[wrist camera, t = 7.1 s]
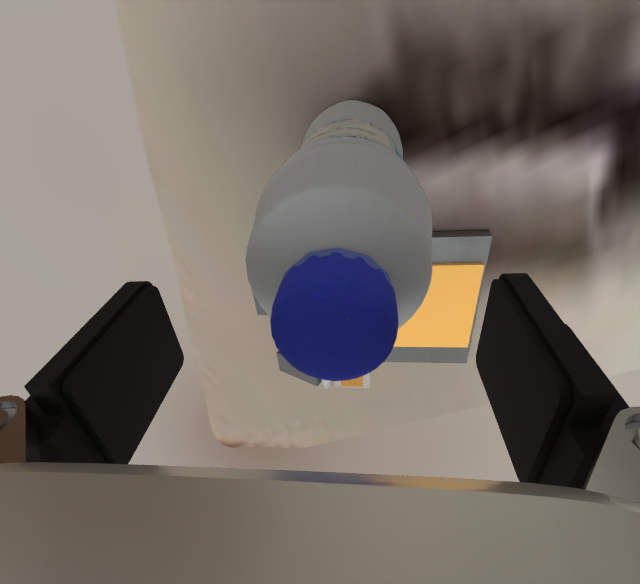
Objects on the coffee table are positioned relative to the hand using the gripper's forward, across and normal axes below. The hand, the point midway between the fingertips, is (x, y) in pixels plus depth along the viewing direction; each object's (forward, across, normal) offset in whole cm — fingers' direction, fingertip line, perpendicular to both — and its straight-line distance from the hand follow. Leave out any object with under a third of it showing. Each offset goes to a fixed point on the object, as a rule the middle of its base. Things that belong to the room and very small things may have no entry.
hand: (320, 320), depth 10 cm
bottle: (+18, -1, -1) cm, 18 cm away
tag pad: (+17, -6, +12) cm, 22 cm away
